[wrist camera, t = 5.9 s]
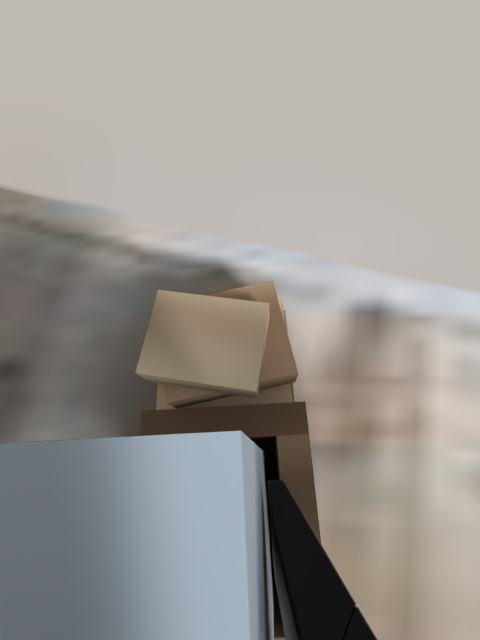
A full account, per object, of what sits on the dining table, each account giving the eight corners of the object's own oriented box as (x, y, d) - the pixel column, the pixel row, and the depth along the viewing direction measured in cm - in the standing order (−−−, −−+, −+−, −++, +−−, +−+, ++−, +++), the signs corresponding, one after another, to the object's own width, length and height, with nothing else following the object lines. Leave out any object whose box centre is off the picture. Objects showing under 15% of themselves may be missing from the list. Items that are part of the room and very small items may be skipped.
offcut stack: (294, 412, 16) (304, 394, 12) (167, 419, 16) (129, 404, 12) (284, 311, 18) (290, 261, 13) (170, 319, 18) (138, 273, 14)
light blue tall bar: (273, 582, 15) (280, 1356, 2) (200, 584, 15) (-210, 1305, 2) (264, 452, 16) (240, 430, 4) (200, 455, 17) (-23, 444, 4)
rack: (320, 633, 14) (337, 687, 11) (158, 637, 14) (126, 690, 11) (287, 317, 19) (292, 287, 15) (168, 325, 19) (148, 298, 16)
